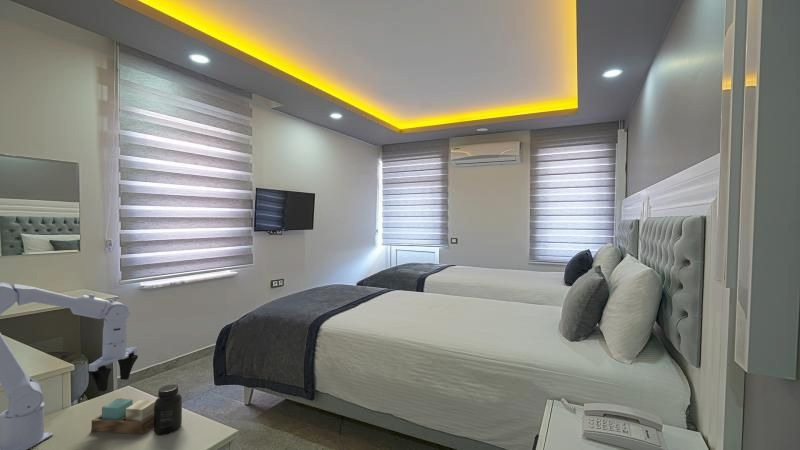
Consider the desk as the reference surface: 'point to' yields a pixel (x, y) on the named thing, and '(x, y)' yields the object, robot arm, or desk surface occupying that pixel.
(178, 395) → the supplement bottle
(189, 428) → the desk surface
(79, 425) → the desk surface
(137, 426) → the walnut puzzle board
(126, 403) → the teal block
